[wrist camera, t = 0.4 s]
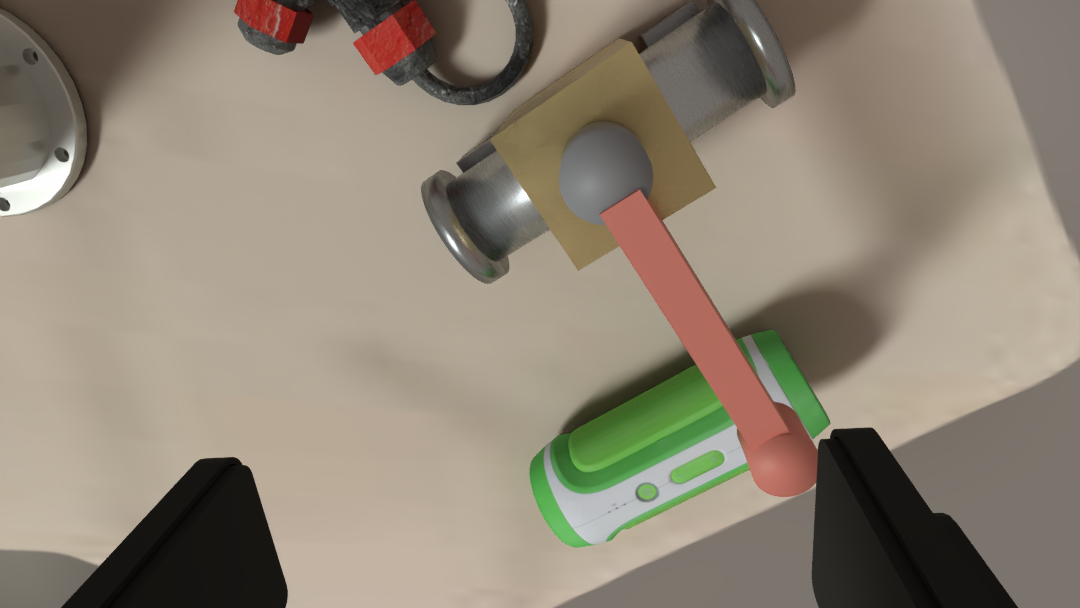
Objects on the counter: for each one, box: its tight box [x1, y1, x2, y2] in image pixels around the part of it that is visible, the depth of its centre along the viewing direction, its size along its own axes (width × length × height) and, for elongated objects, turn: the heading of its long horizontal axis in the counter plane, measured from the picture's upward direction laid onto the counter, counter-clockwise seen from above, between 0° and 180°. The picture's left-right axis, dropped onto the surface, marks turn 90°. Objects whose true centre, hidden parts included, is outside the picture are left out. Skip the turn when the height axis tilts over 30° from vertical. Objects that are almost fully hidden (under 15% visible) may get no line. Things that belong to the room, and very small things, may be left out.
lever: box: [559, 121, 818, 497], centre depth 29 cm, size 4×18×4 cm, turn 34°
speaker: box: [530, 329, 830, 547], centre depth 43 cm, size 18×7×8 cm, turn 124°
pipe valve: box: [421, 0, 795, 284], centre depth 34 cm, size 18×7×11 cm, turn 124°
